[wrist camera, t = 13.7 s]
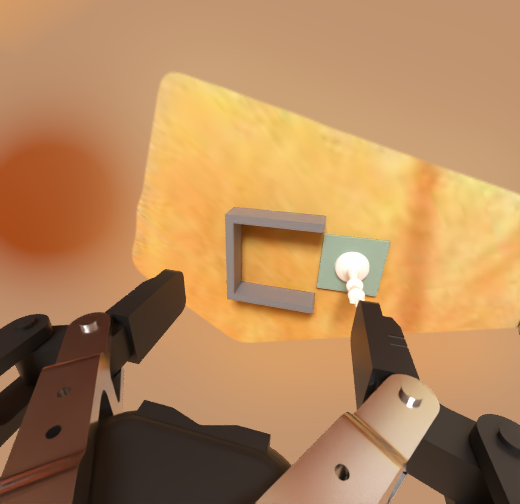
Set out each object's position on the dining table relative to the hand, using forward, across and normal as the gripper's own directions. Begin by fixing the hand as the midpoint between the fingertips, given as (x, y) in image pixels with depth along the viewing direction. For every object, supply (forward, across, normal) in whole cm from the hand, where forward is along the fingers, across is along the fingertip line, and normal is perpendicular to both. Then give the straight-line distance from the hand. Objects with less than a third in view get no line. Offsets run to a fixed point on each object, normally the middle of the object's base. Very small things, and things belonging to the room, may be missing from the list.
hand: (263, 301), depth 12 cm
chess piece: (+28, -8, +11) cm, 31 cm away
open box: (+28, +4, +11) cm, 30 cm away
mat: (+28, -8, +11) cm, 31 cm away
